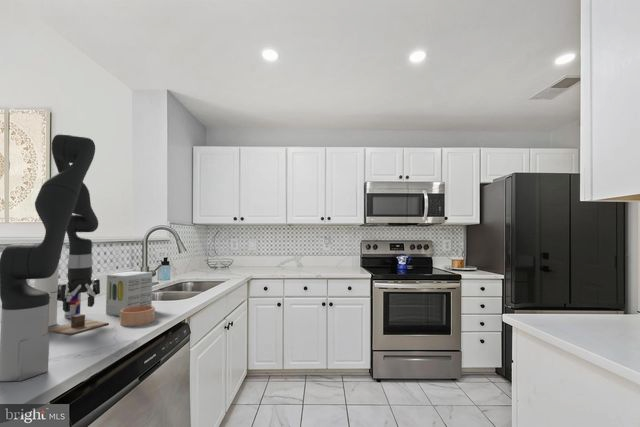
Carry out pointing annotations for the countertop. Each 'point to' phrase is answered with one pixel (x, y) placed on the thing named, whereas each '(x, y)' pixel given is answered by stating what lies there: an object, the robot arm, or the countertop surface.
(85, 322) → the walnut lid
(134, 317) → the terracotta bowl
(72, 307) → the energy drink
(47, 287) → the cylindrical container
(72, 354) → the countertop surface
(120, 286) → the supplement box
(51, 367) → the countertop surface
